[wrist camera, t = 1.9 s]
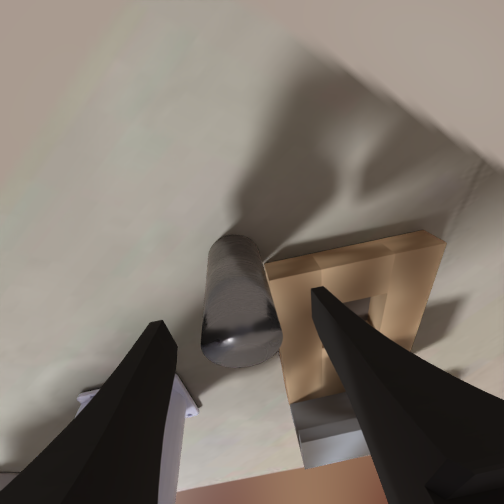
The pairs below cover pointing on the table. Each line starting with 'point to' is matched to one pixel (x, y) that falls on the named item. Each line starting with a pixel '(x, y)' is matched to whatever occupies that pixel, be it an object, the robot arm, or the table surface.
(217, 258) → the peg
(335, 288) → the socket board
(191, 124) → the table surface
